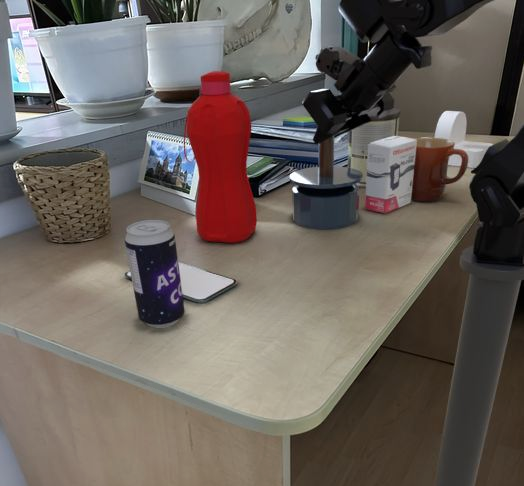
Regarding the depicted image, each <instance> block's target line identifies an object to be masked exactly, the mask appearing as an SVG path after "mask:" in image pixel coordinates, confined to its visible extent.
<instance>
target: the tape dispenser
mask: <svg viewBox="0 0 524 486" xmlns="http://www.w3.org/2000/svg"><path fill="white" fill-rule="evenodd" d="M467 125H468V123H467V115H466V113H465V112H464V111H456V110H445V111H443V113H441V115H440V116H439V118H438V121H437V124H436V128H435V131H434V137H433V138H442V139H448V140H451V141H453V142H455V146H454V149H461V150H464V151H465V152H466V153H467V155H468V165H467V168H470V169H475V168H476V167H477V166H478V165H479V164H480V162H481V161H482V159H483V157H484V154H485V152H486V151H487V149H488V148H489V147H490V146H492V145H494V143H492V142H491V143H489V142H481V141H470V140H469V141H468V140H466V134H467V133H466V132H467ZM421 138H428V137H426V136H424V137H423V136H421ZM461 163H462V158H461V156H460V155H457V154H454V155H452V156H450V157H449V161H448V166H453V167H461Z"/></svg>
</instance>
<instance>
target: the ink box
mask: <svg viewBox="0 0 524 486" xmlns="http://www.w3.org/2000/svg"><path fill="white" fill-rule="evenodd" d="M416 139H417V138H411V137H406V136H402V135H401V136H400V135H398V136H392V137H388V138H385V139H381V140H378V141H375V142H371V143H370V144H368V158H367V177H366V187H365V199H364V209H365V210H369V211H373V212H378V213H381V214H388V213H391V212H392V211H395V210H397V209H400V208H402V207H404V206H407V205H410V204H411V203H412V200H411V194H412V185H413V175H414V165H415V156H416V146H417V140H416Z"/></svg>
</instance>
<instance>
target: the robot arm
mask: <svg viewBox="0 0 524 486" xmlns="http://www.w3.org/2000/svg"><path fill="white" fill-rule="evenodd" d="M491 2H495V0H340V2H339V4H338V11H339V13H340V14H341V16H342V17H343V19H344V20H345V22H346V23H347V24H348V25H349V27H350V29H351V30H352V32H353V33H354V34H355V36H356V37H357V38H358V41H360V43H363V44H364V43H368V42H370V43H371V44H374V43H376V44H375V45H373V47H372V48H371V50H370V51H368V53H367V54H366V56H365V57H364V58H361V57H359V56H357V55H355V54H354V53H353V52H351V51H349V50H348V49H346V48H345V47H343V46H340V45H330V46H323V48H321V49H320V50H319V53H318V54H316V55H315V58H314V59H315V67H316V70H317V71H318V72H319V73H323V74H325V75H326V76H328V77H330V78H331V79H333V80H334V81H335V82H334V84H333V87H334V88H335V89H336V91H338V92H340V93H339V94H337V95H335V94H334V93H333V91H332V90H331V89H329V88H321V89H316V90H311V91H309V92H308V93H307V94H306V96H305V97H304V98H303V99H302V106H303V108H304V109H305V110H306V112H307V114H308V115H309V116H310V117H311V119H312V120H313V122H314V123H315V125H316V126H317V127H316V129H315V131H314V135H313V138H312V141H313V143H314V144H315V145H319V143H321V142H323V141H325V140H327V139H329V138H331V137H333V136H334V139H336V138H338V137H340V136H342V135H344V134H346V133H349V131H351V130H353V129H356V128H358V127H360V126H362V125H365V124H367V123H369V122H371V119H370V117H369V116H368V114H367V113H370V112H374V111H375V110H376V109H377V108H378V107H380V108H381V109H380V110H379V111H378V113H377V115H376V116H377V117H378V118H382V117H385V116H387V115H388V114H389V113H390V112H391V111H392V109H393V108H395V99H394V97H393V96H392V94H391V93H393V92H394V90H395V89H396V88H397V86H396V82H398V80H399V79H400V78H401V77H402V76H403V75H404V74H405V73H406V71H407V70H408V69H409V68H410V67H411V66H412V65H413V66H414V67H415V69H417V70H421V69H425V68H430V67H431V66H432V51H433V46H432V45H424V44H423V43H422V41H421V40H420V39H419V38H425V37H432V36H439V35H444V34H446V33H448V32H449V31H451V30H452V29H454V28H455V27H457V26H459V25H460V24H462V23H463V22H465V21H466V20H468V18H469V17H471V16H472V15H473V14H474V13H476V12H477V11H478V10H479V9H481V8H483V7H484V6H486V5H487V4H490V3H491ZM470 174H473V176H472V178H471V180H470V182H469V185H468V188H469V192H470V196H471V199H472V201H473V203H475V204H476V210H477V216H478V220H479V221H478V222H477V224H476V230H475V236H474V242H473V245H474V247H473V254H474V255H476V262H477V263H482V264H494V265H506V266H519V267H524V123H523V124H522V125H521V127H520V128H519V130H518V131H517V133H515V135H514V137H513V138H512V139H511V140H508V139H507V138H504V139H503V140H500V141H497V142H496V143H493V145H492V146H490V147H489V148H488V149H487V151H486V152H485V154H484V157H483V159H482V161H481V162H480V164H479V165H478V166H477V167H476V168H472V170H470Z"/></svg>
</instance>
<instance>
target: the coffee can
mask: <svg viewBox="0 0 524 486" xmlns="http://www.w3.org/2000/svg"><path fill="white" fill-rule="evenodd" d="M380 109H381V108H380V107H379V106H378V108H377V109H376V110H375V111H374V112H370V113H367V114H368V116H369V117H370V119H371V122H369V123H367V124H365V125H362V126H360V127H358V128H356V129H353V130H351V131H349V132H348V147H347V168H352V169H356V170H358V171H360V172H362V174H363V179H362V180H361V181H360V182H359V183H356V184H357V185H358V187H359V188H361V187H362V188H366V177H367V158H368V144H370V143H371V142H375V141H378V140H381V139H385V138H388V137H392V136H399V124H400V116H401V109H399V108H395V107H394V108H393V109H392V111H391V112H390V113H389V114H388V115H387V116H385V117H382V118H378V117H377V116H376V115H377V113H378V111H379V110H380Z"/></svg>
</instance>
